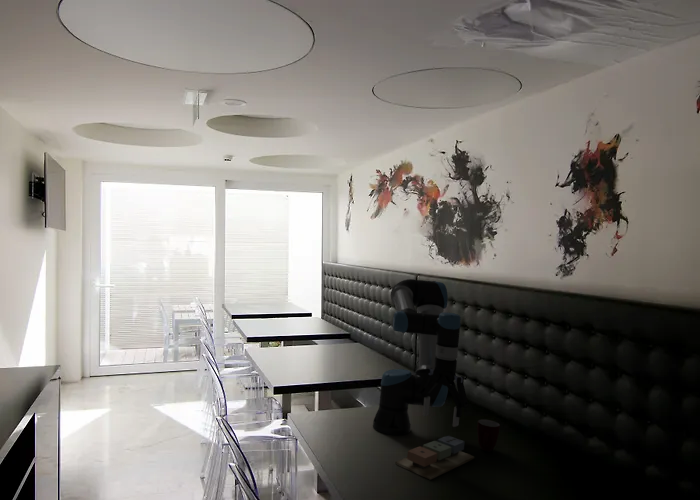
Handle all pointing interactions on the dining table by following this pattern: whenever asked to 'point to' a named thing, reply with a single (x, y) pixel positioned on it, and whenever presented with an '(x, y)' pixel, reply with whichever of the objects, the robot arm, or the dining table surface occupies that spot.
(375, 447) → the dining table surface
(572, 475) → the dining table surface
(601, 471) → the dining table surface
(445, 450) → the tile
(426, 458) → the tile
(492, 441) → the mug
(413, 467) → the board
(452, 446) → the tile
